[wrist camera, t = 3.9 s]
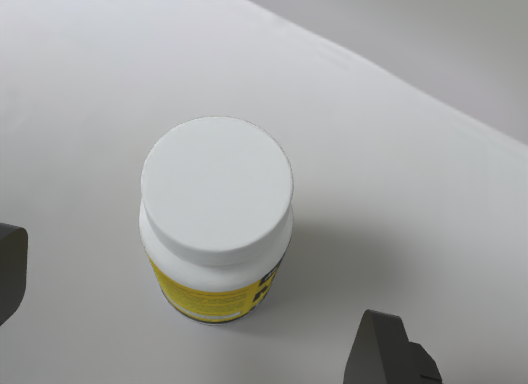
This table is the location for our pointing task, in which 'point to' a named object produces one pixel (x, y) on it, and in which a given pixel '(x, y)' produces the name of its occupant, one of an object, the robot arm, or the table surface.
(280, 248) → the supplement bottle
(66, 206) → the table surface
